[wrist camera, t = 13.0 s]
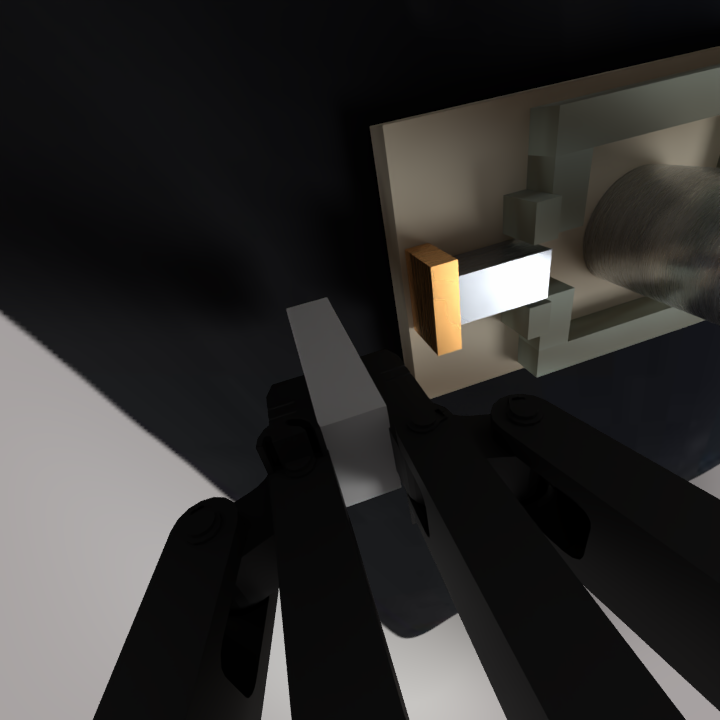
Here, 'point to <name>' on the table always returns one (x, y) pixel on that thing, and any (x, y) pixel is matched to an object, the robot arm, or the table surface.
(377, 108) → the table surface
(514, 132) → the dock mount
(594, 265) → the metal bottle
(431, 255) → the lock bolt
